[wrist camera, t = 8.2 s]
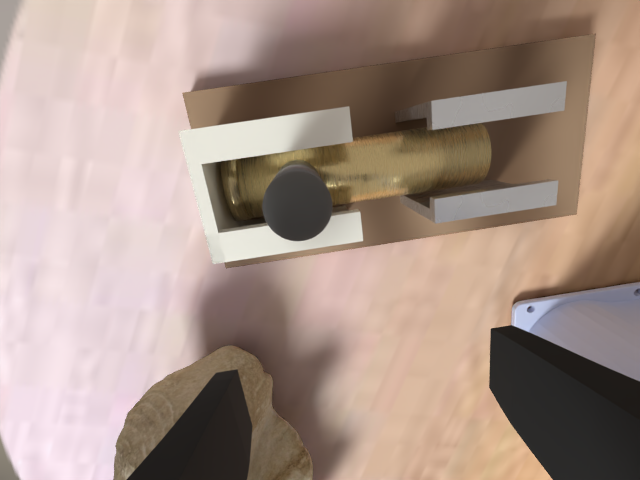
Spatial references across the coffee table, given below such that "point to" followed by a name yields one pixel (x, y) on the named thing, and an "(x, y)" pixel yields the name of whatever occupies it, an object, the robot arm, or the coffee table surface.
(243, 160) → the brass bolt
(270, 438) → the sculpture
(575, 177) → the guide board
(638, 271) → the coffee table surface
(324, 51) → the coffee table surface
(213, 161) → the socket block
